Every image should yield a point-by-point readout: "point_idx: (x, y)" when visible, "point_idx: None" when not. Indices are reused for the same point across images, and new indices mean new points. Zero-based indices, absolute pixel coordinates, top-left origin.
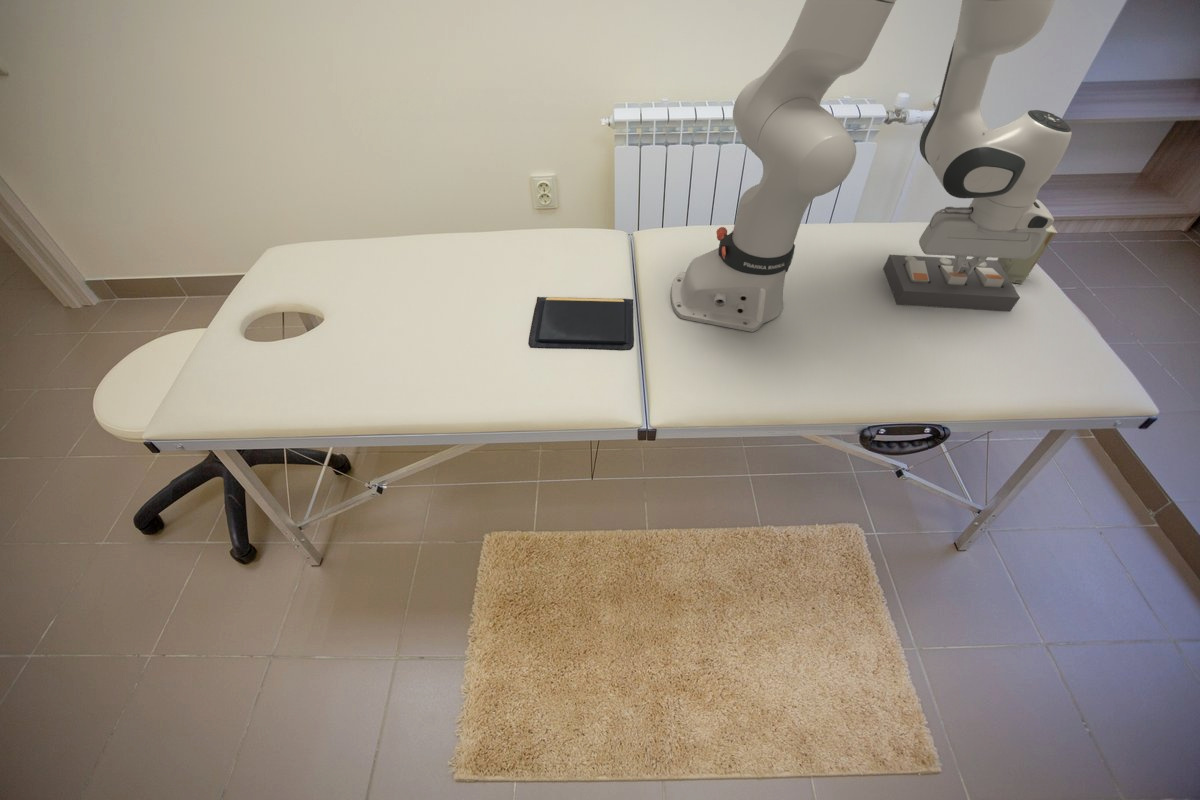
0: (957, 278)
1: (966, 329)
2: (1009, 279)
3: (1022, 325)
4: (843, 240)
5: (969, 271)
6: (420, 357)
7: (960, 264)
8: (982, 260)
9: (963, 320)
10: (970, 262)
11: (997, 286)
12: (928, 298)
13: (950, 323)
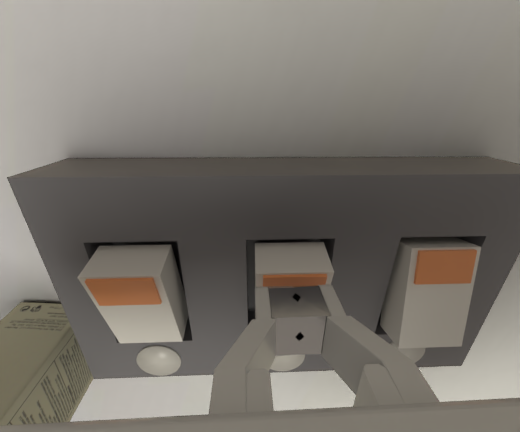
0: (298, 265)
1: (275, 9)
2: (60, 311)
3: (19, 67)
4: (464, 396)
5: (268, 297)
6: None
7: (355, 330)
8: (235, 373)
9: (267, 79)
10: (271, 353)
11: (111, 249)
12: (413, 165)
13: (330, 51)
